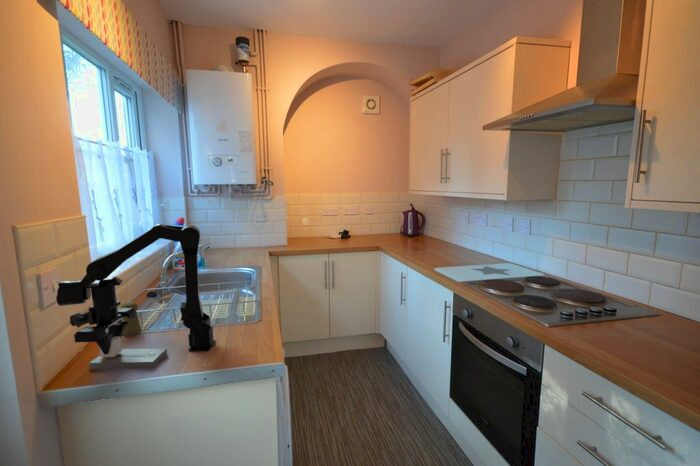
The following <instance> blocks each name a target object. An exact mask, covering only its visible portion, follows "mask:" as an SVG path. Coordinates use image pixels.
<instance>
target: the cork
mask: <svg viewBox="0 0 700 466" xmlns="http://www.w3.org/2000/svg"><path fill="white" fill-rule="evenodd" d="M120 308H133V309H134V310H135V311H136V316H135V317H134V318H132V319H128V317H127V316H125V317H123V320H124V322H128V324H127V326H126V328H125V330H124V332H123V334H122V336H123V335H124V337H129V336H134V334H135V335H137V333H138V334H139V332H140V331H141V332H142V326H141V323H140V320H139V316H138V312H137V310H138V308H139V307H138V304H137V302H136V301H127V302H123V303H122V304H120ZM141 332H140V333H141Z"/></svg>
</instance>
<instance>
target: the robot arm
mask: <svg viewBox="0 0 700 466" xmlns="http://www.w3.org/2000/svg"><path fill="white" fill-rule="evenodd" d="M200 231H201V230H200V228H198V227H197V226H196V225H191V224H190V225H189V224H188V225H184V226H178V225H167V224H163V223H158V224H155V225H154V226H153V227H151V228H150V229H149V230H147V231H145V232H144V233H142V234H141V235H139V236H137V237H136V238H134V239H133V240H132V241H130V242H128V243H126V244H125V245H123V246H122V247H120V248H119V249H116V250H114V251H111V252H109V253H107V254H104V255H101V256H100V257H97V258H96V259H94V260H92V261H91V262H90V263H89V264H87V266H86V269H85V272H86V274H85V276H84V277H82V278H81V280H80V279H79V280H71V281H69V280H63V281H62V280H61V281H60V282H59V283H58V284H57V285H58V287H57V288H58V289H57V293H56V297H55V298H56V303H57V305H58V306H59V307H63V306H65V307H66V306H73V305H74V306H75V305H80V304H81V305H82V304H86V303H87V301H88V300H91V299H92V305H91V306H89V307H88V310H86V311H84V312H82V313H80V312H77V313H74V314H72V315H70V316H69V324H70V325H71V327H76V328H81V327H82V326H84V325H86V324H88V325H90V326H85V327H83V328H81V329H79V330H77V331H76V332H75V333H74V334H73V340H74V343H96V344H97V346H98V348H99V347H100V349H101V350H102V352H103V353H104V354H109V350H110V345H111V340H112V336H120V340H121V339H122V336H123V335H122V334H123V332H124V330H125V328H126V326H127V324H128V322H124V320H123V317H125V316H127V317H128V319H132V318H134V317H135V316H136V311H137V310H136V311H135V310H134V309H133V308H121V307H119V308H118V306H121V305H122V304H121V300H118V299H117V293H116V290H117V289H116V286H120V285H122V283H123V281H124V280H123V279H121V278H119V277H118V276H117V275H114V276H112V278H109V276H110V275H112V273H114V272H115V271H116V270H117V269H118V268H120V266H121V265H122V264H124V262H126V261H127V260H129V259H130V258H132V257H134V256H135V255H136V254H138V253H140V252H141V251H143V250H144V249H145V248H147V247H149V246H150V245H152V244H153V243H154V242H156V241H158V240H160V239H162V240H168V241H171V242H178V243H180V248H181V250H182V254H183V258H184V279H185V282H184V283H185V302H181V303H180V308H179V310H180V314H181V316H180V322H182V323H183V326H184V327H186V328H187V329H189V334H188V335H187V337H188V345H189V346H188V347H189V348H188V352H207V351H208V352H209V351H210V350H211V348H212V347H213V346H214V345H215V343H216V340H214V330H213V329H214V327H213V326H212V325H211V316H210V315H208V314H207V313H206V312H204V310H203V309H204V308H203V305H202V301H201V298H200V294H199V293H200V292H199V269H198V268H199V265H198V252H199V245H200V240H201V232H200ZM107 278H109V279H107ZM96 281H99V282H96ZM94 282H96V283H94ZM94 325H95V326H94Z"/></svg>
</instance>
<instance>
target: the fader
mask: <svg viewBox="0 0 700 466" xmlns="http://www.w3.org/2000/svg"><path fill="white" fill-rule="evenodd" d="M121 342H122V341H121V339H120V336H112V340H111V345H110V350H109V354H104V353H103V352H102V350H101V349H100V347H99V346H98V349H99V350H98V351H99V356H100V357H115V356H116V355H117V354H119V353H120V352H121V349H122V344H121Z"/></svg>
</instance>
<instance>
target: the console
mask: <svg viewBox="0 0 700 466" xmlns="http://www.w3.org/2000/svg"><path fill="white" fill-rule="evenodd" d="M167 350H168V349H167V348H128V349H127V348H126V349H123V348H121V352H120V353H119V354H117V355H116V356H115V357H100V355H98V356H97V357H95V358H94V359H93V360H91V361H90V362H88V364H89V370H131V369H132V370H133V369H134V370H136V369H137V370H138V369H142V370H143V369H144V370H145V369H147V370H148V369H154V368H156V366H157V365H158V364H159V363H160V362H162V360H163V359H164V358H165V357H166V356H167V355H168V351H167Z"/></svg>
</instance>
